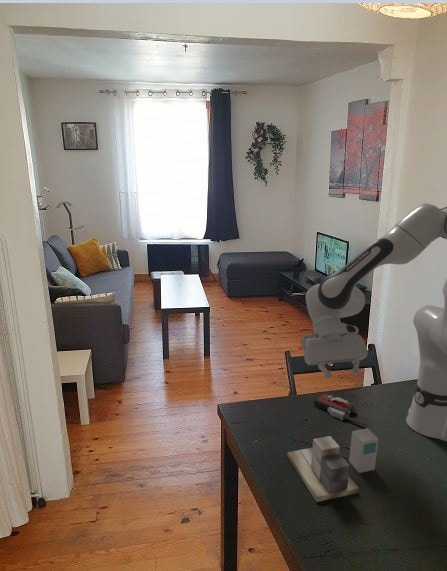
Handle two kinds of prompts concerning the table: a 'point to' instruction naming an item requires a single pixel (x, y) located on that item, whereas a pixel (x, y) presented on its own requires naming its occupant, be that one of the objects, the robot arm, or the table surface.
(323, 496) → the rail board
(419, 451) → the table surface
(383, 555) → the table surface
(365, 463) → the block
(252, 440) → the table surface
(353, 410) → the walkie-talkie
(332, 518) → the table surface
